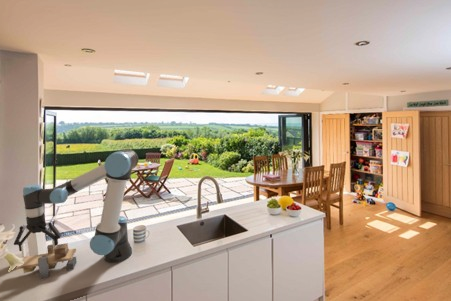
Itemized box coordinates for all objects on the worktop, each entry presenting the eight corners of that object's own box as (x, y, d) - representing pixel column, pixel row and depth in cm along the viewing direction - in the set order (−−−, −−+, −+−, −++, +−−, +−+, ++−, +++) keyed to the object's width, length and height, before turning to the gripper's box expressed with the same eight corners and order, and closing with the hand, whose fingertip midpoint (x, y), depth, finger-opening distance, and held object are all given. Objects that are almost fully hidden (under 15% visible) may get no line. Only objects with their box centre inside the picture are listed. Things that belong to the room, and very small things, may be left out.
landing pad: (76, 262, 140) (76, 256, 139) (73, 269, 133) (72, 263, 133) (70, 263, 139) (69, 257, 138) (67, 270, 132) (66, 264, 132)
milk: (38, 254, 150) (34, 219, 147) (47, 254, 149) (43, 219, 146) (29, 259, 144) (24, 223, 141) (39, 260, 143) (34, 223, 140)
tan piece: (77, 257, 141) (75, 242, 140) (72, 268, 131) (70, 252, 130) (26, 266, 134) (24, 250, 133) (17, 278, 123) (14, 261, 122)
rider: (68, 251, 137) (67, 243, 136) (65, 256, 132) (64, 247, 132) (57, 253, 135) (56, 244, 135) (55, 258, 131) (53, 249, 130)
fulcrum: (57, 262, 140) (55, 243, 139) (48, 278, 126) (46, 257, 125) (50, 263, 139) (48, 245, 138) (40, 279, 125) (37, 259, 124)
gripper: (65, 209, 135) (69, 245, 138) (9, 215, 127) (14, 254, 130) (61, 214, 128) (65, 252, 131) (1, 221, 120) (7, 262, 123)
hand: (40, 253), depth 130 cm, fingers open, 13 cm apart
